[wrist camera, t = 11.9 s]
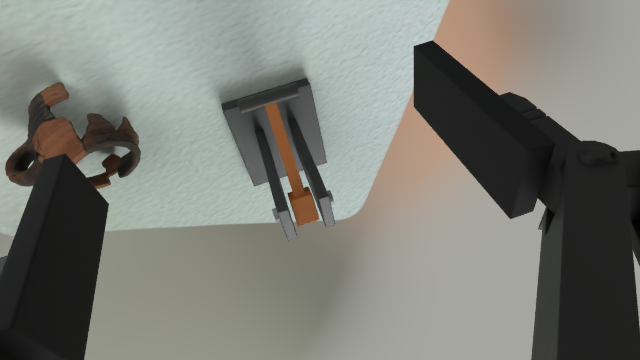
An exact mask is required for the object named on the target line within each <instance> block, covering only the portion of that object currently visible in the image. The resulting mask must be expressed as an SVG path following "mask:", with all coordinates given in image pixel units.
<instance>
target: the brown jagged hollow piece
mask: <svg viewBox="0 0 640 360" xmlns="http://www.w3.org/2000/svg"><path fill="white" fill-rule="evenodd" d="M68 98H69V94H68V92H67V91H66V90H65V87H64V85H63V83H58V84H54V85H52V86H50V87H47V88H46V89H44V90H43V91H41V92H40V93H38V94H37V95H36V96H35V97H34V98H33V99H32V101H31V103H30V105H29V109H28V113H29V125H28V131H29V132H28V139H27V141H26V142H25V143H24V144H23V145H22V146H20V147H19V148H18V149H17V150H16V151H14V152H13V153H12V155H11V156H10V157H9V159H8V160H7V162H6V166H5V170H6V175H7V176H8V177H9V180H10V181H12V182H14V183H16V184H18V185H21V186H34V184H35V181H36V178H37V176H38V173H39V170H40V168H41V165H42V162H43V160H44V159H47V158H51V157H54V156H57V155H60V154H64V153H66V154H67V155H68V157H69V158H70V159H71V160H72V161H73V162H74V164H75V165H76V164H77V163H78V162H79V161H80V160H81V159H83V158H84V157H85V156H87V155H88V154H89V153H92V152H94V151H97V150H99V149H102V148H106V147H112V146H123V147H126V148H128V149H129V150H131V151H130V152H129V153H128V154H126V155H125V156H123V157H122V158H120V157H119V156H117V155H115V154H111V155H109V156H108V157H107V158H106V159H105V160H104V161H103V162H102V165H103V167H104V168H105V169H106V172H104V173H102V174H99V175H96V176H92V177H88V178H87V179H88V180H89V181H90V183H91V184H92V185H93V186H94V187H95V188H96V189H99V188H103V187H106V186H109V185H111V183H110V180H109V177H110V176H113V175H114V174H116V173H117V172H118V175H119V177H120V178H123V177H125V176H128V175H129V174H130V173H131V172H132V171H133V170H134V169H135V168H136V166H137V165H138V163H139V161H140V155H141V151H140V149H139V147H138V144H139V140H138V135H137V133H136V132H135V131H134V129H133V128H132V126H131V124H130V122H129V121H128V119H127V118H126V117H123V121H122V124H121V125H120V127H119V128H118V130H117V131H116V129H115V127H114V126H113V125H112V124H111V123H110V122H109V121H107V120H105V119H104V118H103V117H102V116H101V115H99V114H92V113H91V114H88V115H87V118H88V122H89V124H88V126H87V128H86V132H85V134H84V136H83V138H82V139H80V138H79V136H78V135H77V133H76V132H75V130H74V128H73V125H72V123H71V122H70V121H69V120H68V119H66V118H63V117H60V118H55V116H54V115H53V114H52V113H51V111H50V107H51V106H53V105H55V104H56V103H59V102H61V101H63V100H66V99H68ZM33 160H34V162H33V164H32V165H31V166H30V167H29V168H28V166H29V165H30V164H31V162H32V161H33Z"/></svg>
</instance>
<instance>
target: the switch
mask: <svg viewBox="0 0 640 360" xmlns="http://www.w3.org/2000/svg"><path fill="white" fill-rule="evenodd" d="M298 97H300V93H299V89H298V86H297V84H296V83H292V84H289V85H286V86H282V87H279V88H276V89H273V90H269V91H266V92H263V93H260V94H256V95H253V96H250V97H247V98H243V99H240V100H237V104H238V107H239V110H240V112H241V114H242V115H243V114H246V113H249V112H253V111H256V110H259V109H262V108H265V109H266V112H267V115H268V118H269V121H270V124H271V127H272V130H273V133H274V136H275V139H276V142H277V145H278V148H279V151H280V154H281V157H282V161H283V164H284V167H285V170H286V173H287V176H288V179H289V182H290V185H291V188H292V191H293V192H290V193H288V197H289V200H290V203H291V206H292V209H293V212H294V215H295V218H296V221H297V224H298V226H301V225H304V224H307V223H311V222H313V221H316V220H319V216H318V213H317V210H316V206H315V203H314V200H313V197H312V194H311V192H310V190H309V187H305V188H303V185H302V182H301V178H300V175H299V172H298V169H297V166H296V163H295V159H294V156H293V153H292V150H291V147H290V143H289V140H288V137H287V134H286V131H285V128H284V124H283V121H282V118H281V115H280V112H279V109H278V105H277V104H279V103H282V102H285V101H288V100H292V99H295V98H298Z"/></svg>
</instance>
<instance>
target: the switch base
mask: <svg viewBox="0 0 640 360" xmlns="http://www.w3.org/2000/svg"><path fill="white" fill-rule="evenodd" d="M293 83H296V84H297V86H298V89H299V93H300V97H298V98H295V99H292V100H288V101H285V102H282V103H279V104H277V105H278V109H279V112H280V115H281V118H282V121H283V124H284V128H285V131H286V134H287V137H288V140H289V143H290V147H291V150H292V153H293V156H294V159H295V163H296V166H297V169H298V172H300V171H303V170H304V172H305V174H306V177H307V180H308V182H309V185H310V187H311V190H312V193H313V195H314V198H315V200H316V203H317V206H318V208H319V211H320V213H321V216H322V218H323V221H324V223H325V226H326V227H330V226H333V225H335V221H334V216H333V212H332V208H331V204H333V203H334V200H333V197H332V194H331V192H330V190H328V191H327V190H326V188H325V186H324V183H323V181H322V179H321V176H320V174H319V172H318V169H317V167H316V166H318V165H321V164H324V163H327V161H326V156H325V151H324V147H323V142H322V137H321V133H320V128H319V123H318V119H317V114H316V109H315V105H314V100H313V95H312V91H311V86H310V83H309V81H308V79H307V78H306V79H302V80H299V81H296V82H293ZM289 84H292V83H289ZM289 84H286V85H289ZM286 85H283V86H286ZM279 87H282V86H279ZM279 87H276V88H279ZM276 88H273V89H276ZM273 89H270V90H273ZM266 91H269V90H266ZM266 91H263V92H266ZM263 92H260V93H263ZM260 93H256V94H260ZM256 94H253V95H256ZM253 95H250V96H253ZM250 96H247V97H250ZM247 97H243V98H247ZM243 98H240V99H243ZM240 99H237V100H240ZM237 100H234V101H230V102H227V103H224V104H222V109H223V113H224V115H225V118H226V120H227V122H228V125H229V127H230V129H231V132H232V134H233V137H234V139H235V141H236V144H237V146H238V148H239V151H240V153H241V156H242V158H243V160H244V163H245V165H246V167H247V170H248V172H249V175H250V177H251V179H252V182H253V184H254V186H257V185H260V184H263V183H266V182H269V184H270V188H271V192H272V195H273V199H274V202H275V206H276V208H274V209H272V211H273V214H274V217H275V220H276V222H280V221H281V223H282V226H283V229H284V231H285V234H286V236H287V239H288V240H292V239H294V238H297V234H296V231H295V227H294V224H293V221H292V218H291V214H290V211H289V208H288V205H287V201H286V198H285V195H284V192H283V188H282V185H281V182H280V179H279V178H281V177H284V176H287V173H286V170H285V167H284V164H283V161H282V157H281V154H280V151H279V148H278V145H277V142H276V139H275V136H274V133H273V130H272V127H271V124H270V121H269V118H268V115H267V112H266V109H265V108H262V109H259V110H256V111H253V112H249V113H246V114H243V115H242V114H241V112H240V110H239V107H238V104H237Z"/></svg>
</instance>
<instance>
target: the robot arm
mask: <svg viewBox="0 0 640 360" xmlns="http://www.w3.org/2000/svg"><path fill="white" fill-rule="evenodd" d="M414 107H415V109H416V110H417V111H418V112H419V113H420V114H421V115H422V117H423V118H424V119H425V120H426V121H427V123H428V124H429V125H430V126H431V127H432V128H433V130H434V131H435V132H436V133H437V134H438V135H439V137H440V138H441V139H442V140H443V141H444V142H445V144H446V145H447V146H448V147H449V148H450V149H451V151H452V152H453V153H454V154H455V155H456V156H457V157H458V159H459V160H460V161H461V162H462V163H463V165H464V166H466V168H467V169H468V170H469V172H470V173H471V174H472V175H473V176H474V177H475V178H476V180H477V181H478V182H479V183H480V184H481V185H482V187H483V188H484V189H485V190H486V191H487V192H488V194H489V195H490V196H491V197H492V198H493V199H494V201H495V202H496V203H497V204H498V205H499V206H500V208H501V209H502V210H503V211H504V212H505V213H506V215H507V216H508V217H509V218H510V219H512V218H515V217H518V216H521V215H524V214H526V213H529V212H532V211H533V210H534V207H535V204H536V201H537V198H538V199H539V200H540V201H541V202H542V203H543V204H544V205H545V206H546V209H545V212H544V214H543V217H542V220H541V222H540V225H539V228H538V229H540V230H542V241H541V252H540V264H539V277H538V288H537V299H536V300H537V301H536V312H535V323H534V336H533V347H532V359H531V360H640V328H639V317H638V306H637V295H636V284H635V272H634V261H633V252H634V254H635V256H636V259H637V261H638V263H639V266H640V150H637V151H623V152H619V151H618V150H617V149H615V148H614V147H612V146H609V145H607V144H605V143H601V142H597V141H580V140H578V139H577V138H576V137H575V136H573V135H572V134H571V133H570V132H568V131H567V130H566V129H564V128H563V127H562V126H560V125H559V124H558V123H557V122H555V121H554V120H553V119H551V118H550V117H549V116H546V114H545V113H544V112H543V111H541V110H540V109H537V107H536V106H535V105H534V104H532V103H531V102H530V101H528V100H527V99H526V98H524V97H521V96H518V95H516V94H513V93H511V92H508V93H505V94H502V95H498V94H497V93H495V92H494V91H493V90H492V89H490V88H489V87H488V86H487V85H486V84H484V83H483V82H482V81H481V80H480V79H478V78H477V77H476V76H475V75H473V74H472V73H471V72H470V71H469V70H468V69H466V68H465V67H464V66H463V65H462V64H460V63H459V62H458V61H457V60H456V59H454V58H453V57H452V56H451V55H450V54H448V53H447V52H446V51H445V50H443V49H442V48H441V47H440V46H439V45H437V44H436V43H435V42H434V41H433V40H432V41H429V42H426V43H423V44H419V45H416V46H414ZM108 206H109V204H108V203H107V201H106V200H105V199H104V198H103V197H102V195H101V194H100V193H99V192H98V191H97V190H96V188H95V187H94V186H93V185H92V184H91V183H90V181H89V180H88V179H87V178H86V177H85V175H84V174H83V173H82V172H81V171H80V170H79V168H78V167H77V166H76V165H75V164H74V162H73V161H72V160H71V159H70V158H69V157H68V155H67V154H66V153H64V154H60V155H57V156H54V157H51V158H47V159H44V160H43V162H42V165H41V168H40V170H39V173H38V176H37V178H36V181H35V184H34V186H33V189H32V192H31V194H30V197H29V200H28V202H27V205H26V208H25V210H24V213H23V216H22V218H21V221H20V224H19V226H18V229H17V232H16V234H15V237H14V240H13V243H12V245H11V248H10V250H9V253H8V256H5V257H1V258H0V360H84V356H85V350H86V344H87V338H88V331H89V325H90V319H91V313H92V306H93V300H94V294H95V287H96V281H97V275H98V268H99V262H100V256H101V250H102V244H103V237H104V231H105V225H106V219H107V212H108ZM632 249H633V250H632Z"/></svg>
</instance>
